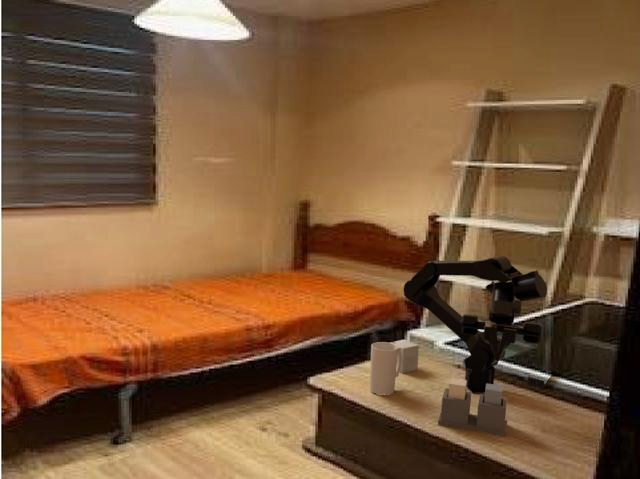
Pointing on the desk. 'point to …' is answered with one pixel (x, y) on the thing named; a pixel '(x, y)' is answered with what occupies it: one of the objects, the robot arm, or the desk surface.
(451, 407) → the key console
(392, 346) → the mug
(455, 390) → the beige block
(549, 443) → the desk surface
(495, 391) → the slate key
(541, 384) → the multiport hub
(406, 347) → the skincare box
